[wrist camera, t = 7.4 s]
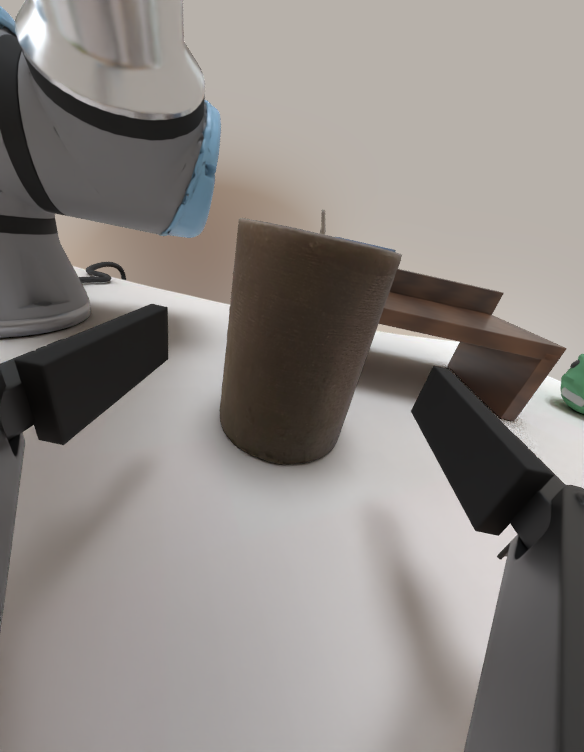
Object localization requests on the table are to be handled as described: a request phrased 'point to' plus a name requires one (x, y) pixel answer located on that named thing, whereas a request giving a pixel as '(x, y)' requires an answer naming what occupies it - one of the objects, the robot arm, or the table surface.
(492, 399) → the shelf
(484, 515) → the robot arm
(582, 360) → the alien toy
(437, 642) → the table surface
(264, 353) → the pillar candle
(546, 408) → the table surface
